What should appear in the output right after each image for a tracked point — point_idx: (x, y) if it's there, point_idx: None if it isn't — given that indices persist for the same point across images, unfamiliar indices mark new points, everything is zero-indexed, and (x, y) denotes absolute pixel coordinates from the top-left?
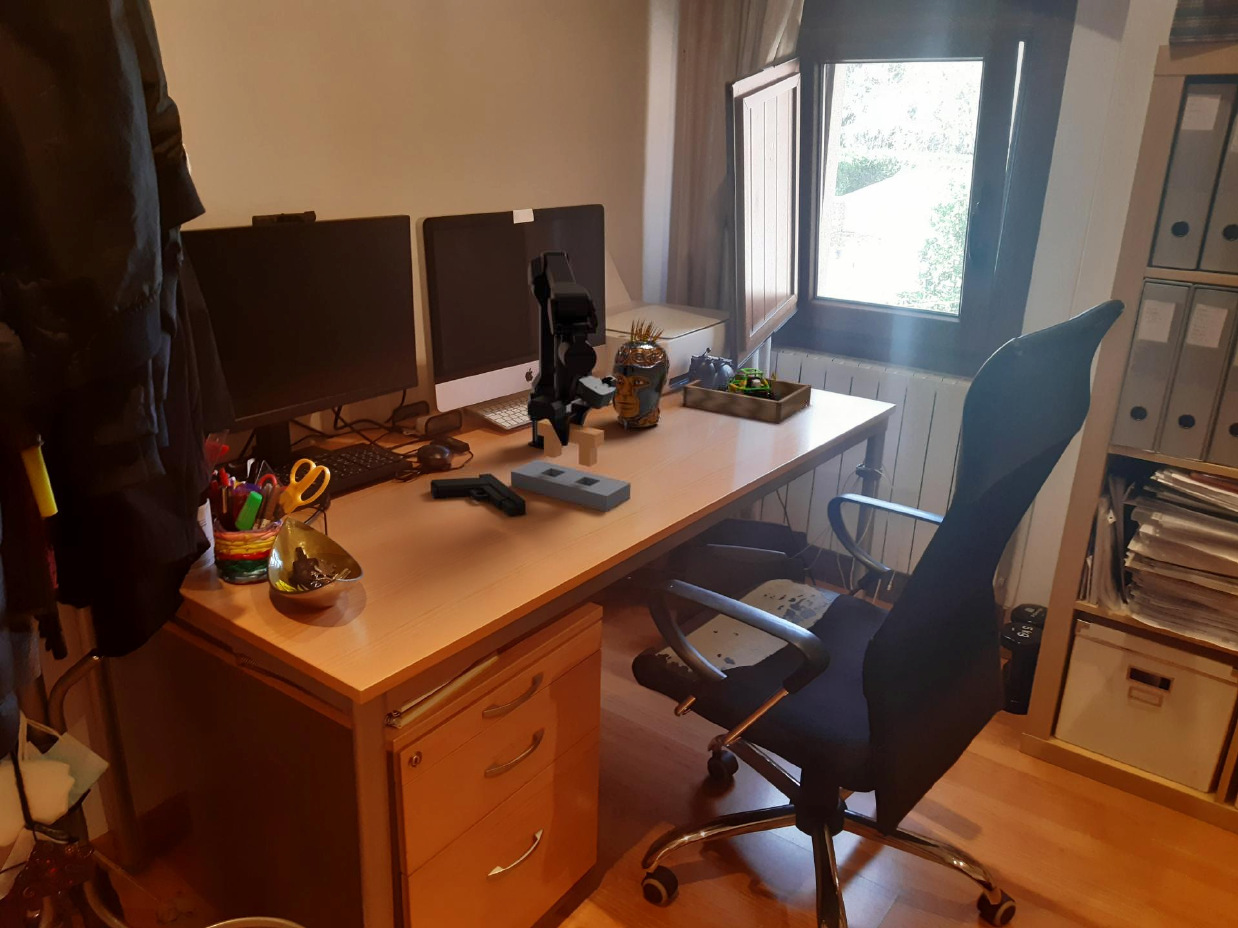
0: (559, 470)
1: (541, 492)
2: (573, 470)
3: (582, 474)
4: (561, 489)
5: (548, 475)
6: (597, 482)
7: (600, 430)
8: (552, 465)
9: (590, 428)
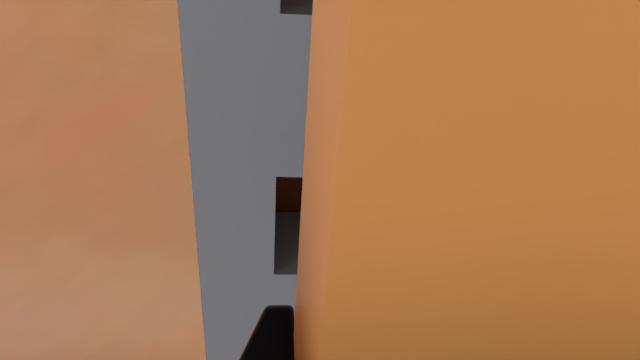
0: (274, 220)
1: None
2: (219, 152)
3: (248, 56)
4: None
5: (298, 245)
6: None
7: (413, 3)
8: (228, 288)
9: (374, 331)
